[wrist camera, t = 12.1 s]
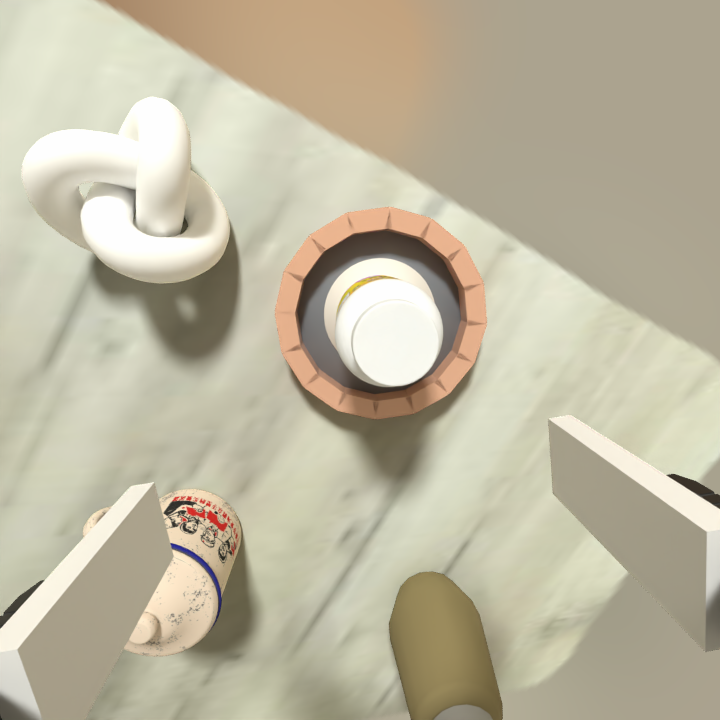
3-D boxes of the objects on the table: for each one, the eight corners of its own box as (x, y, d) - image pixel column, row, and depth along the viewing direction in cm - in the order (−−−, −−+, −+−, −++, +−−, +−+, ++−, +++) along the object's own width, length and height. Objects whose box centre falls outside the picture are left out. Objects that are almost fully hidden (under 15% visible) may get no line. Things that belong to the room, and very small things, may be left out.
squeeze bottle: (461, 635, 45) (540, 878, 27) (379, 630, 44) (405, 874, 27) (475, 562, 43) (568, 770, 25) (390, 556, 43) (425, 764, 25)
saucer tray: (298, 419, 39) (295, 431, 37) (265, 227, 36) (259, 224, 33) (482, 392, 40) (493, 402, 37) (466, 199, 36) (477, 194, 33)
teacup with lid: (265, 521, 41) (236, 620, 30) (207, 592, 43) (159, 713, 31) (150, 446, 39) (72, 521, 28) (94, 523, 41) (-3, 624, 29)
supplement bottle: (430, 291, 37) (479, 307, 24) (401, 367, 38) (432, 420, 25) (352, 261, 36) (359, 263, 23) (324, 340, 37) (317, 382, 25)
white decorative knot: (278, 218, 36) (258, 204, 27) (170, 319, 37) (117, 336, 28) (172, 97, 34) (114, 39, 25) (61, 208, 35) (-31, 191, 26)
